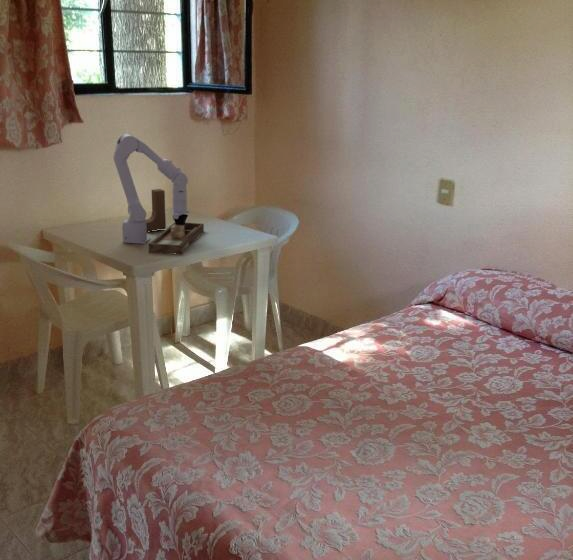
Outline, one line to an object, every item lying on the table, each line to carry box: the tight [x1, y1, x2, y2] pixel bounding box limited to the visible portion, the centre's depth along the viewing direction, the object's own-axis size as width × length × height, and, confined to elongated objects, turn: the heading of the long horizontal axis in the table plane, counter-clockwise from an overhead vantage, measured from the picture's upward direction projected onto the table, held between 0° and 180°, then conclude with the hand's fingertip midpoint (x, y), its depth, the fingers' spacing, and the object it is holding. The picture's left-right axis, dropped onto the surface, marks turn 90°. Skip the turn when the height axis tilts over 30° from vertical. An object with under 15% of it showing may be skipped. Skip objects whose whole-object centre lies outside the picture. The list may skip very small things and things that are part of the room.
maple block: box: [171, 225, 185, 238], centre depth 277 cm, size 4×4×4 cm
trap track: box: [148, 222, 205, 255], centre depth 278 cm, size 13×37×4 cm, turn 173°
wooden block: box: [146, 188, 167, 233], centre depth 291 cm, size 9×4×18 cm, turn 125°
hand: (180, 231), depth 281 cm, fingers closed
